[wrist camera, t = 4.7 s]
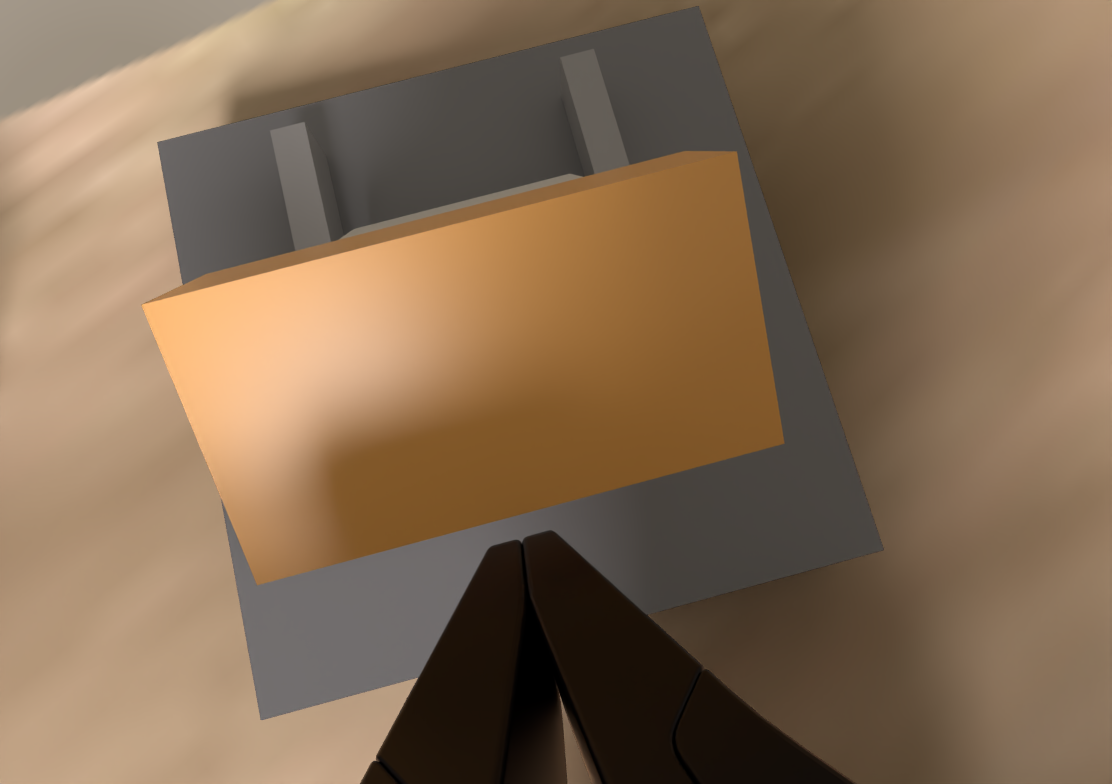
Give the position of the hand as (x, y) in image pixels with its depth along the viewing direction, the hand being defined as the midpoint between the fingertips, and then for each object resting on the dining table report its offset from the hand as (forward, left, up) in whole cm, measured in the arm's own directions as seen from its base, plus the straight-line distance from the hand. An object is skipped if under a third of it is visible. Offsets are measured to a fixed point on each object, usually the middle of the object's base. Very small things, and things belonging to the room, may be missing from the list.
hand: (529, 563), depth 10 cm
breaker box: (+4, -3, -12) cm, 13 cm away
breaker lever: (+6, -4, -8) cm, 11 cm away
